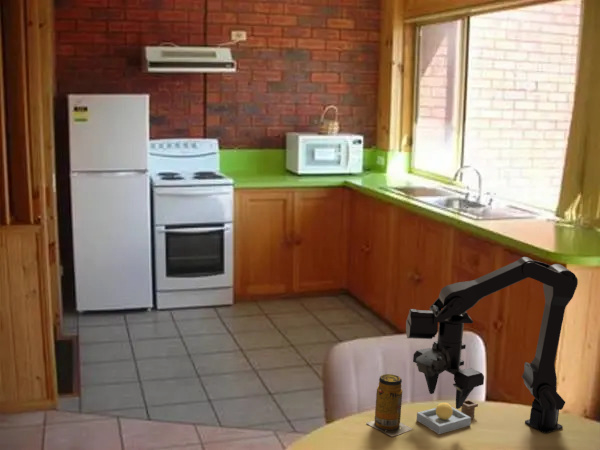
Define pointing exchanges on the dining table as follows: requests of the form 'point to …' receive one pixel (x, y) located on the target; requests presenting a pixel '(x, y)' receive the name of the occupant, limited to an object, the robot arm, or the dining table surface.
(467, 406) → the egg cup
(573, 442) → the dining table surface
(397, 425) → the condiment
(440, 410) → the ball
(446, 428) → the tray
